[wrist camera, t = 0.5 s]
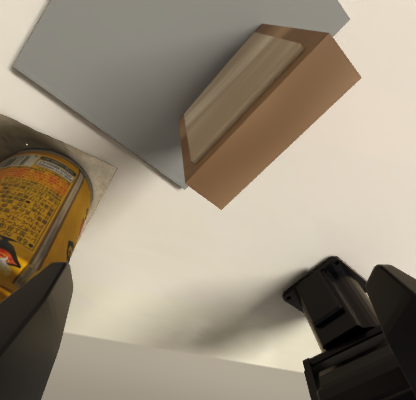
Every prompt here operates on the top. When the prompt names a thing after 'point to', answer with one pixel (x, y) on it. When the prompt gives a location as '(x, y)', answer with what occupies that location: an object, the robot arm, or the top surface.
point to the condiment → (42, 201)
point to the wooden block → (260, 107)
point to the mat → (151, 60)
